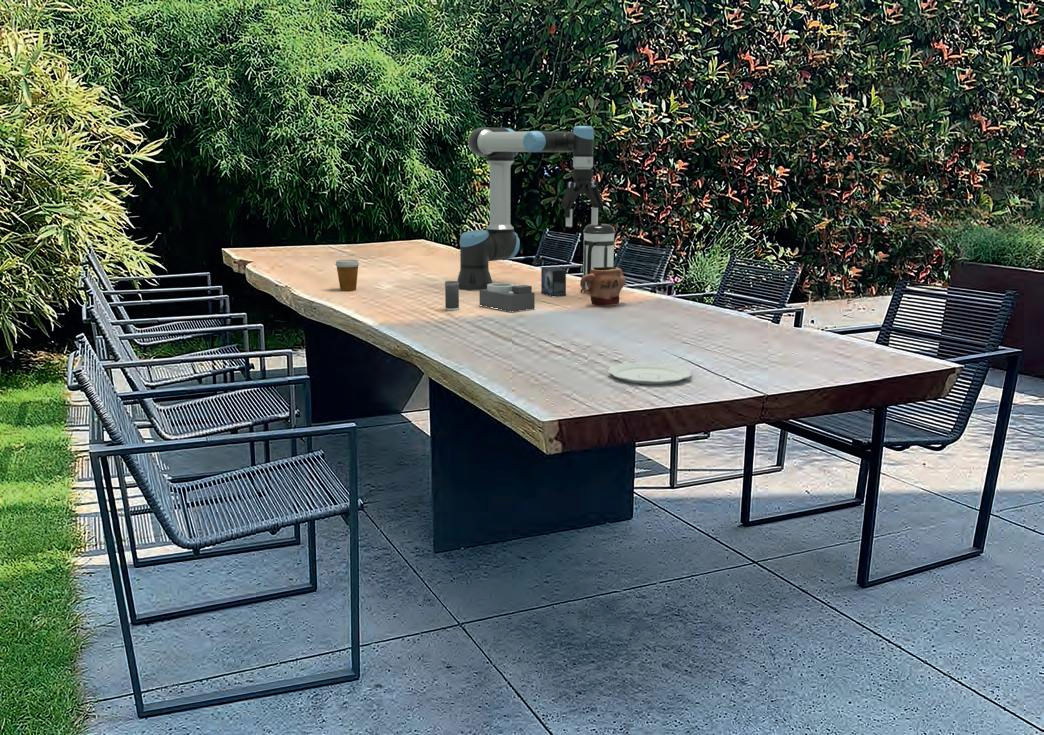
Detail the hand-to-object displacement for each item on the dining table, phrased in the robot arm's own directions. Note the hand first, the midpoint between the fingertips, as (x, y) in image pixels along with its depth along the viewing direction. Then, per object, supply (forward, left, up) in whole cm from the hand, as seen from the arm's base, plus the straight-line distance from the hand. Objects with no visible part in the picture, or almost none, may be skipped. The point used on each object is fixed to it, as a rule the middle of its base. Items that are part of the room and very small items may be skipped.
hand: (581, 225), depth 357 cm
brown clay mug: (+16, -4, -28) cm, 33 cm away
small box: (-15, 0, -28) cm, 32 cm away
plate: (+103, -76, -28) cm, 131 cm away
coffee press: (-7, +17, -28) cm, 34 cm away
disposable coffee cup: (-76, -57, -28) cm, 99 cm away
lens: (-11, -53, -28) cm, 61 cm away
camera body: (-2, -35, -28) cm, 45 cm away
